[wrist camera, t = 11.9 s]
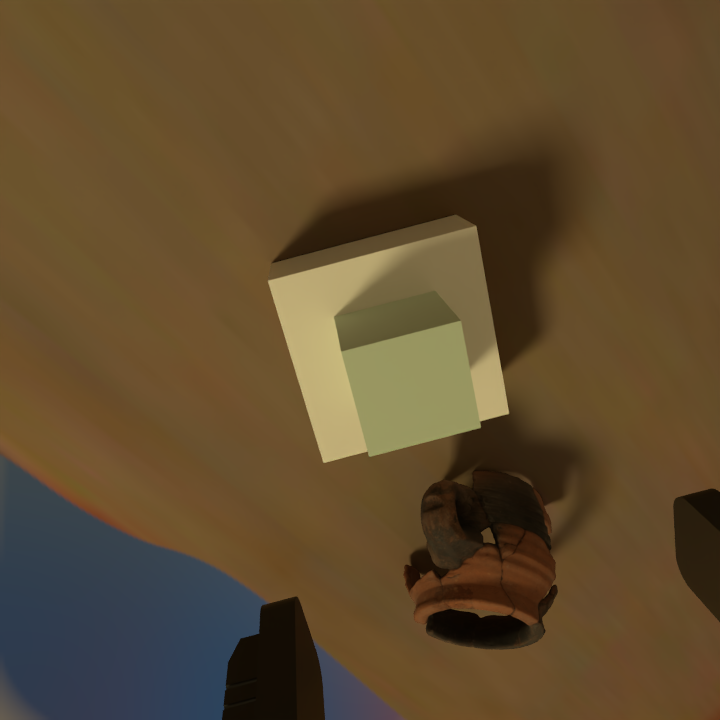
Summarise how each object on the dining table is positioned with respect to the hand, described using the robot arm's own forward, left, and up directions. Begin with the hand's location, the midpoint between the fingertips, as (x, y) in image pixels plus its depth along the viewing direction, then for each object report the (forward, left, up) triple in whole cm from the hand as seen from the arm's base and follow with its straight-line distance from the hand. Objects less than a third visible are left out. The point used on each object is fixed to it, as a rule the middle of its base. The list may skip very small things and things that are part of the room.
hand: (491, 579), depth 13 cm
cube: (0, -2, -19) cm, 19 cm away
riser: (0, -2, -23) cm, 23 cm away
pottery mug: (+2, -16, -23) cm, 28 cm away
